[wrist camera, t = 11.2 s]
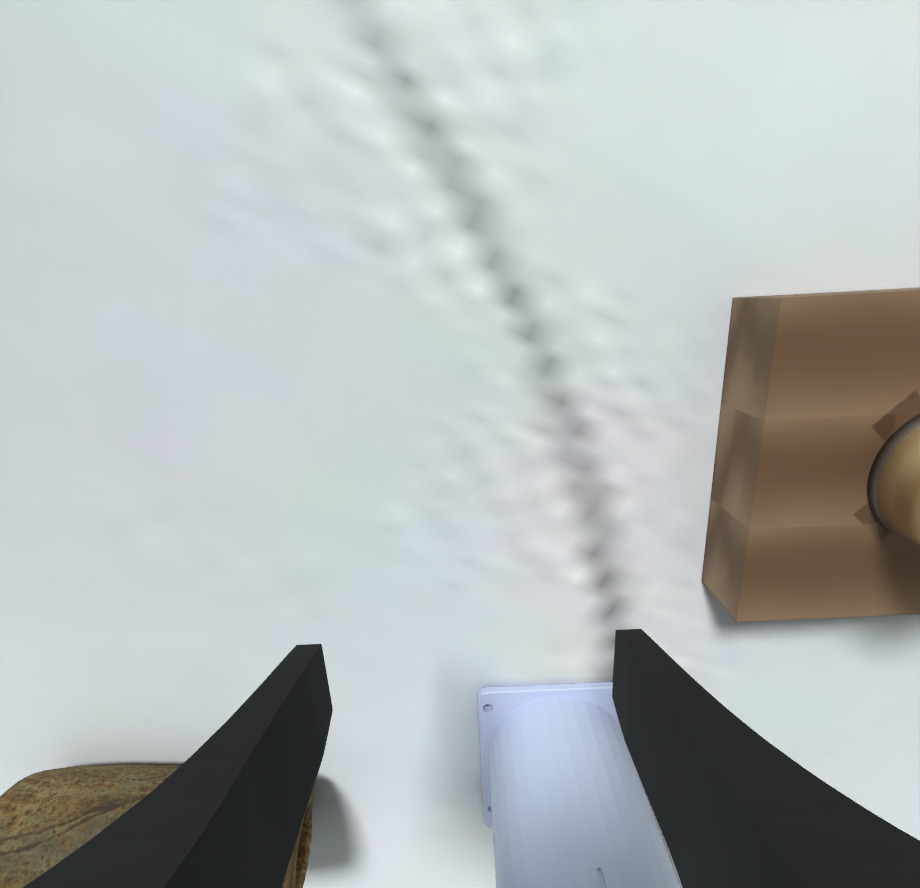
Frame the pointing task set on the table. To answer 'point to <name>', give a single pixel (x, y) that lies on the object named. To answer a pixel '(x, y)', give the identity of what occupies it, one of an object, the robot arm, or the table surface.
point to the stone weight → (88, 817)
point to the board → (812, 456)
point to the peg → (898, 482)
